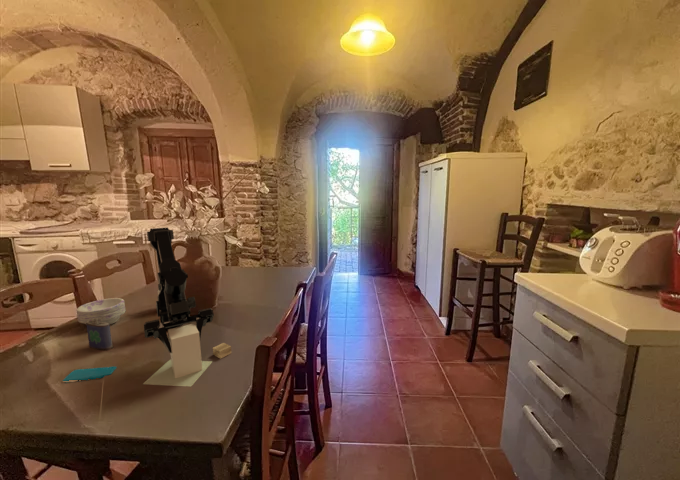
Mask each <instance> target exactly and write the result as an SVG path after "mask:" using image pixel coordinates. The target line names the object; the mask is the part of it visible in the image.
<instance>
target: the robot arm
mask: <svg viewBox="0 0 680 480" xmlns="http://www.w3.org/2000/svg"><path fill="white" fill-rule="evenodd" d="M146 239H147V241H148V242H149V244H150V247H151V248H152V249H153V250H154V251H155V253H156V261H157V268H158V272H156V276H157V282H158V284H161V290H160V292H159V295H158V294H157V300H156V301H155V303H156V304H155V308H156V309H155V310H156V314H157V317H158V319H154V320H148V321H145V322H144V323H143V331H144V338H151V337H153V339H158V340H159V341H160V342H161V343H162V344H163V345H164V347H165V348H166V349H167V352H168V353H169V354H170V353H171V346H170V343H169V336H168V330H169V329H173V328H177V327H181V326H184V325H188V324H190V323H191V324H192V323H195V326H196V328H197V329H198V331H199V337H200V339H201V338H202V336H201V335H202V329H203V327H205V326H206V325H207V324H210V323H211V322H213V319H214V316H215V314H214V310H213V308H211V307H209V308H204V309H203V308H202V309H199V310H198V311H197V312H198V313H197V314H194V315H191V309H194V308H196V306H197V303H196V298H195V296H190V297H188V298H187V297H186V292H185V291H186V286H187V279H189V275H188V273H187V272H186V271H185V270H184V269H183V268H182V266H181V262H179V261H178V260H176V258H175V255H174V250H173V246H172V242H173V240H174V239H175V236H174V229H170V228H169V227H167V226H166V227H157V228H156V227H154V228H150V229H149V231H146Z"/></svg>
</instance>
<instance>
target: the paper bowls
mask: <svg viewBox="0 0 680 480" xmlns="http://www.w3.org/2000/svg"><path fill="white" fill-rule="evenodd" d="M75 311H76V317H77V321H78V323H80V324H85V325H86V322H87V321H91V320H92V319H94V318H100V319H99V320H100V321H99V322H104V323H110V325H112V324H114V323H117V322H118V321H119V320H120V319H121V316H122V315H124V314H125V313H126V303H125V299H123V298H119V297H114V298H111V297H110V298H104V299H97V300H94V301H90V302H87V303H84V304H82V305H80V306H78V307H77V308H76V310H75Z"/></svg>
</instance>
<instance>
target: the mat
mask: <svg viewBox="0 0 680 480" xmlns="http://www.w3.org/2000/svg"><path fill="white" fill-rule="evenodd" d="M212 363H213V361H212V360H211V361H210V360H209V361H208V360H202V370H200V371H197V372H194V373H191V374H188V375H185V376H182V377H179V378H176V379H175V376H174V373H173V369H172V364H171V359H169V360H168V361H166V362H165V363H164V364H163V365H162V366H161V367H160V368H159V369H158V370H156V371H155V372H154V373H153V374H152V375H151V376H150V377H148V379H146V381H144V382H143V383H142V385H153V386H168V387H169V386H171V387H172V386H174V387H189V388H191V387H192V386H193V385H194V384H195V382H197V380H198V379H199V378H200V377H201V376H202V375H203V374H204V373H205V371H206V370H207V369H208V368H209V367H210V366H211V364H212Z"/></svg>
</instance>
